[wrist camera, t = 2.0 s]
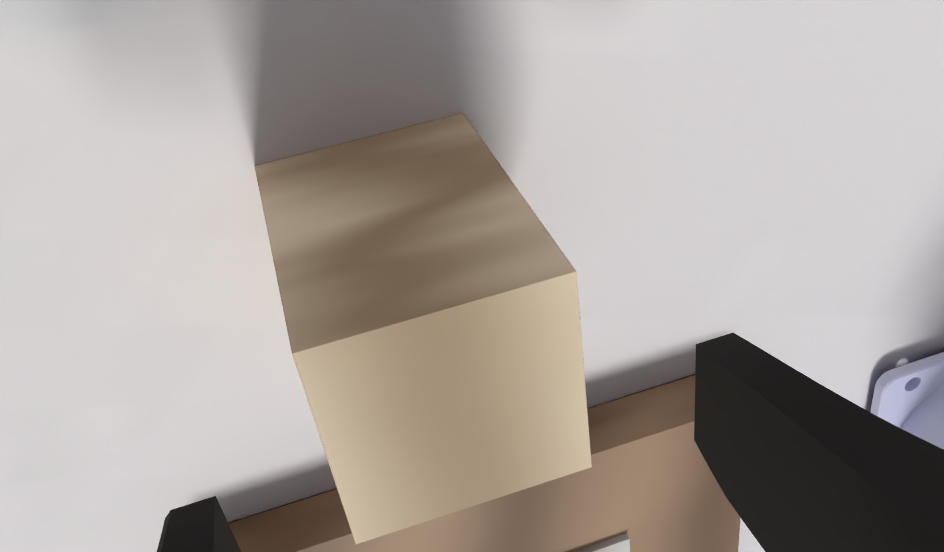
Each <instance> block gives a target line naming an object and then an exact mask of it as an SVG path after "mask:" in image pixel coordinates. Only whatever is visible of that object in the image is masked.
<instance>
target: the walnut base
mask: <svg viewBox="0 0 944 552" xmlns="http://www.w3.org/2000/svg"><path fill="white" fill-rule="evenodd" d="M587 413H588V426H589V438H590V451H591V464H592V467H591V468H588V469H585V470H582V471H579V472H575V473H572V474H569V475H566V476H563V477H560V478H557V479H554V480H551V481H548V482H545V483H542V484H539V485H536V486H533V487H530V488H527V489H524V490H521V491H517V492H514V493H511V494H508V495H505V496H502V497H499V498H496V499H493V500H490V501H487V502H484V503H481V504H478V505H475V506H472V507H469V508H466V509H463V510H460V511H456V512H453V513H450V514H447V515H444V516H441V517H438V518H435V519H432V520H429V521H426V522H423V523H420V524H417V525H414V526H411V527H408V528H405V529H402V530H399V531H395V532H392V533H389V534H386V535H383V536H380V537H377V538H374V539H371V540H368V541H365V542H362V543H359V544H356V543H355V540H354V537H353V534H352V531H351V528H350V525H349V522H348V519H347V516H346V513H345V510H344V507H343V504H342V501H341V498H340V496H339V493H338V490H337V489H335V490H332V491H329V492H326V493H323V494H319V495H316V496H313V497H310V498H307V499H304V500H301V501H298V502H294V503H291V504H288V505H285V506H282V507H279V508H276V509H272V510H269V511H266V512H263V513H260V514H257V515H254V516H250V517H247V518H244V519H241V520H238V521H235V522H232V523H228V524H229V526H230V528H231V531H232V533H233V535H234V537H235V539H236V541H237V544H238V546H239V548H240V550H241V552H738V543H739V529H740V516H739V515H738V513H737V512H736V511H735V509H734V508H733V506H732V505H731V503H730V502H729V501H728V499H727V498H726V496H725V495H724V493H723V491H722V489H721V488H720V486H719V484H718V482H717V481H716V479H715V477H714V475H713V474H712V472H711V470H710V468H709V466H708V465H707V463H706V461H705V459H704V457H703V455H702V454H701V452H700V450H699V448H698V446H697V444H696V442H695V441H694V418H695V375H693V376H690V377H687V378H684V379H680V380H677V381H674V382H671V383H668V384H665V385H662V386H658V387H655V388H652V389H649V390H646V391H643V392H640V393H636V394H633V395H630V396H627V397H624V398H621V399H618V400H615V401H611V402H608V403H605V404H602V405H599V406H596V407H593V408H589V409H587Z"/></svg>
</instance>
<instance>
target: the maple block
mask: <svg viewBox="0 0 944 552" xmlns="http://www.w3.org/2000/svg"><path fill="white" fill-rule="evenodd" d="M255 171H256V176H257V181H258V186H259V191H260V196H261V201H262V206H263V211H264V216H265V221H266V226H267V231H268V236H269V241H270V246H271V251H272V256H273V261H274V266H275V271H276V276H277V281H278V286H279V291H280V296H281V301H282V306H283V311H284V316H285V321H286V326H287V331H288V336H289V341H290V346H291V351H292V355H293V358H294V361H295V364H296V367H297V370H298V373H299V376H300V379H301V382H302V385H303V388H304V391H305V394H306V397H307V400H308V403H309V406H310V409H311V412H312V415H313V418H314V421H315V424H316V427H317V430H318V433H319V436H320V439H321V442H322V445H323V448H324V451H325V454H326V457H327V460H328V463H329V466H330V469H331V472H332V475H333V478H334V481H335V484H336V487H337V490H338V493H339V496H340V498H341V501H342V504H343V507H344V510H345V513H346V516H347V519H348V522H349V525H350V528H351V531H352V534H353V537H354V540H355V543H356V544H359V543H362V542H365V541H368V540H371V539H374V538H377V537H380V536H383V535H386V534H389V533H392V532H395V531H399V530H402V529H405V528H408V527H411V526H414V525H417V524H420V523H423V522H426V521H429V520H432V519H435V518H438V517H441V516H444V515H447V514H450V513H453V512H456V511H460V510H463V509H466V508H469V507H472V506H475V505H478V504H481V503H484V502H487V501H490V500H493V499H496V498H499V497H502V496H505V495H508V494H511V493H514V492H517V491H521V490H524V489H527V488H530V487H533V486H536V485H539V484H542V483H545V482H548V481H551V480H554V479H557V478H560V477H563V476H566V475H569V474H572V473H575V472H579V471H582V470H585V469H588V468H591V467H592V464H591V451H590V438H589V426H588V413H587V400H586V388H585V375H584V362H583V350H582V337H581V324H580V312H579V299H578V286H577V273H576V270H575V269H574V267H573V266H572V265H571V263H570V262H569V260H568V259H567V258H566V256H565V255H564V253H563V252H562V251H561V249H560V248H559V246H558V245H557V244H556V242H555V241H554V239H553V238H552V237H551V235H550V234H549V232H548V231H547V230H546V228H545V227H544V225H543V224H542V223H541V221H540V220H539V218H538V217H537V216H536V214H535V213H534V212H533V210H532V209H531V207H530V206H529V205H528V203H527V202H526V200H525V199H524V198H523V196H522V195H521V193H520V192H519V191H518V189H517V188H516V186H515V185H514V184H513V182H512V181H511V179H510V178H509V177H508V175H507V174H506V172H505V171H504V170H503V168H502V167H501V165H500V164H499V163H498V161H497V160H496V158H495V157H494V156H493V154H492V153H491V151H490V150H489V149H488V147H487V146H486V144H485V143H484V142H483V140H482V139H481V137H480V136H479V135H478V133H477V132H476V130H475V129H474V128H473V126H472V125H471V123H470V122H469V121H468V119H467V118H466V116H465V115H464V114H463V113H461V114H457V115H453V116H449V117H445V118H441V119H437V120H433V121H429V122H425V123H421V124H417V125H413V126H409V127H406V128H402V129H398V130H394V131H390V132H386V133H382V134H378V135H374V136H370V137H366V138H362V139H358V140H354V141H351V142H347V143H343V144H339V145H335V146H331V147H327V148H323V149H319V150H315V151H311V152H307V153H303V154H299V155H296V156H292V157H288V158H284V159H280V160H276V161H272V162H268V163H264V164H260V165H256V166H255Z"/></svg>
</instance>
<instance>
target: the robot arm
mask: <svg viewBox="0 0 944 552" xmlns="http://www.w3.org/2000/svg"><path fill="white" fill-rule="evenodd" d="M694 441H695V442H696V444H697V446H698V448H699V450H700V452H701V454H702V455H703V457H704V459H705V461H706V463H707V465H708V466H709V468H710V470H711V472H712V474H713V475H714V477H715V479H716V481H717V482H718V484H719V486H720V488H721V489H722V491H723V493H724V495H725V496H726V498H727V499H728V501H729V502H730V503H731V505H732V506H733V508H734V509H735V511H736V512H737V513H738V515H739V516H740V517H741V519H742V520H743V522H744V523H745V524H746V526H747V527H748V528H749V530H750V531H751V532H752V534H753V535H754V537H755V538H756V539H757V541H758V542H759V543H760V545H761V546H762V547H763V549H764V550H765V551H766V552H944V352H942V353H939V354H936V355H933V356H930V357H927V358H924V359H921V360H917V361H914V362H911V363H908V364H905V365H902V366H899V367H896V368H893V369H890V370H888V371H886V372H885V373H884V374H882V375H881V376H880V377H879V379H878V380H877V382H876V385H875V389H874V394H873V400H872V405H871V411H870V412H869V411H867V410H865V409H863V408H861V407H859V406H858V405H856V404H854V403H852V402H850V401H849V400H847V399H845V398H843V397H841V396H840V395H838V394H836V393H834V392H833V391H831V390H829V389H827V388H826V387H824V386H822V385H820V384H819V383H817V382H815V381H814V380H812V379H810V378H809V377H807V376H805V375H803V374H802V373H800V372H798V371H797V370H795V369H793V368H792V367H790V366H788V365H787V364H785V363H783V362H782V361H780V360H778V359H777V358H775V357H773V356H772V355H770V354H768V353H767V352H765V351H763V350H762V349H760V348H758V347H757V346H755V345H753V344H752V343H750V342H748V341H747V340H745V339H743V338H741V337H740V336H738V335H736V334H734V333H731V334H727V335H724V336H721V337H718V338H715V339H712V340H708V341H705V342H702V343H699V344H696V373H695V418H694ZM157 552H241V550H240V548H239V546H238V544H237V541H236V539H235V537H234V535H233V533H232V531H231V528H230V526H229V524H228V522H227V520H226V518H225V515H224V513H223V511H222V509H221V507H220V505H219V502H218V500H217V498H216V496H214V497H211V498H208V499H205V500H202V501H198V502H195V503H192V504H189V505H186V506H183V507H179V508H176V509H173V510H171V511H170V512H169V514H168V515H167V517H166V518H165V521H164V526H163V530H162V534H161V538H160V542H159V546H158V549H157Z"/></svg>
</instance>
